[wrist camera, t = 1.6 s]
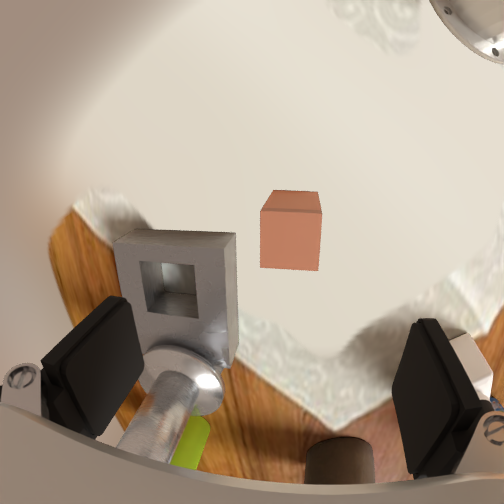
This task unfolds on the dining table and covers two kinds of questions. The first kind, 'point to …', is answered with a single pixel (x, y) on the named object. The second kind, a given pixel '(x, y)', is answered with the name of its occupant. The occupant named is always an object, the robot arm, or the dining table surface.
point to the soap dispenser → (191, 443)
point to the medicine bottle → (475, 368)
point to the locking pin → (290, 230)
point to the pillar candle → (340, 463)
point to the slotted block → (178, 331)
